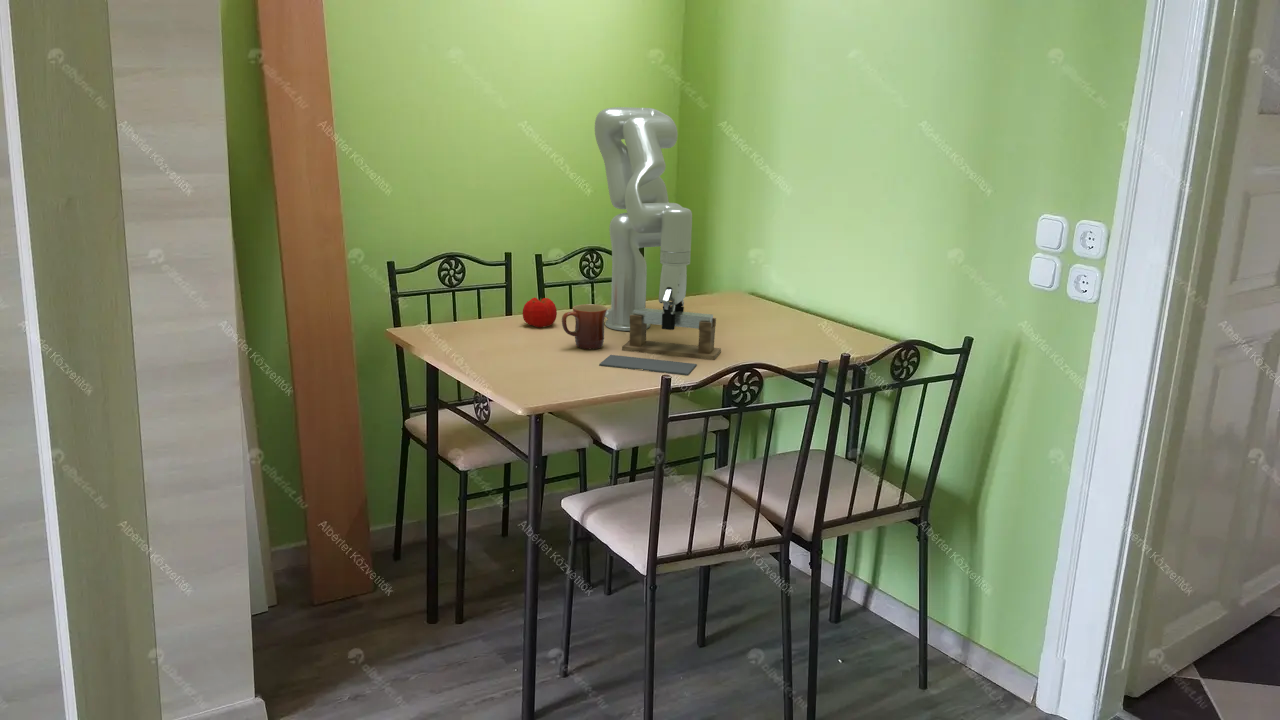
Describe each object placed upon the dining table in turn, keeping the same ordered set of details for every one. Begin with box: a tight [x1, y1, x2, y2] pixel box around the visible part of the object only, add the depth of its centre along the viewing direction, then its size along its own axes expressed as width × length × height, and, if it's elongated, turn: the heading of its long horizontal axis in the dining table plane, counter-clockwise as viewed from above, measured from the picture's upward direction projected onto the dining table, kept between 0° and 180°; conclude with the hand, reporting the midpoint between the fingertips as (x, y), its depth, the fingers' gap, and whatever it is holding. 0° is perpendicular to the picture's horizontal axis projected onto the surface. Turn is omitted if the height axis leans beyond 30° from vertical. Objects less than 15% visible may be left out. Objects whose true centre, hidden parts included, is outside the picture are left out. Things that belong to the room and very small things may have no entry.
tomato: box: [522, 297, 558, 329], centre depth 276 cm, size 9×9×8 cm
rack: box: [621, 315, 722, 361], centre depth 254 cm, size 24×8×9 cm, turn 74°
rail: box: [633, 307, 714, 330], centre depth 253 cm, size 20×3×3 cm, turn 74°
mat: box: [598, 354, 697, 376], centre depth 242 cm, size 22×9×1 cm, turn 74°
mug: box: [561, 303, 608, 351], centre depth 255 cm, size 12×9×10 cm
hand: (672, 325), depth 254 cm, fingers open, 8 cm apart
